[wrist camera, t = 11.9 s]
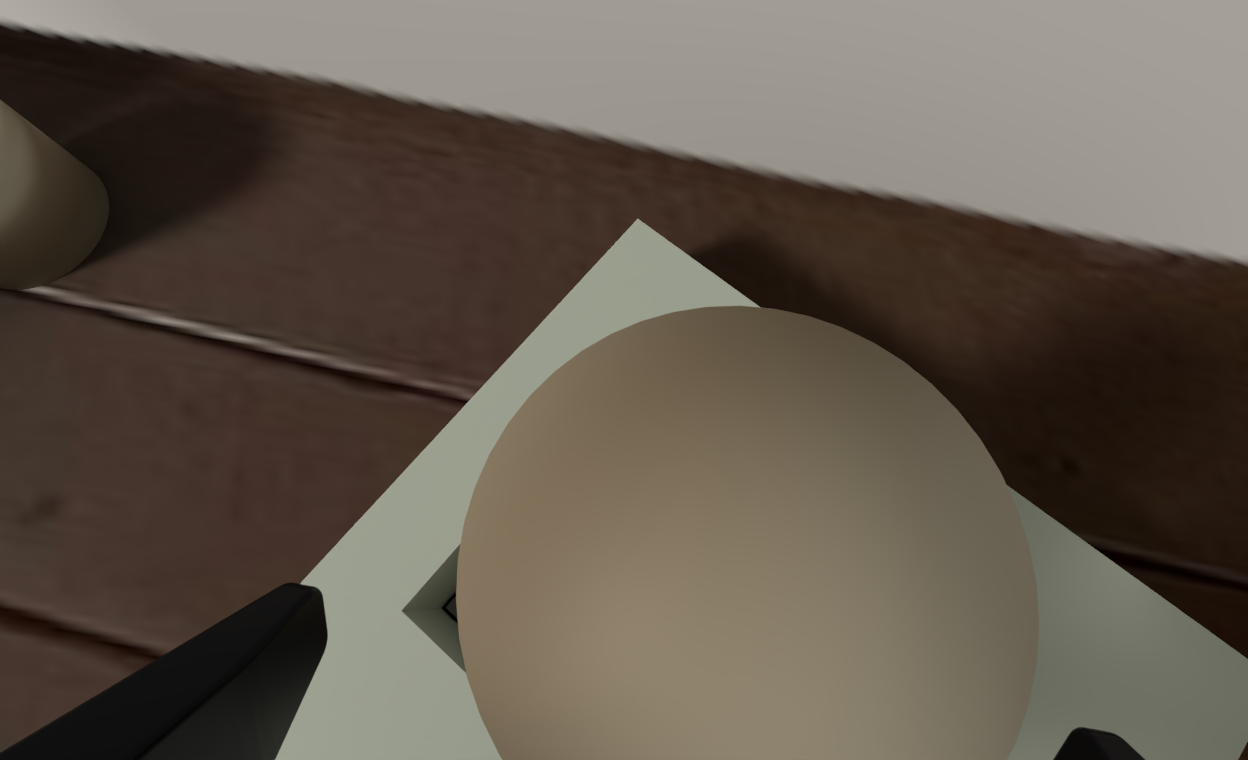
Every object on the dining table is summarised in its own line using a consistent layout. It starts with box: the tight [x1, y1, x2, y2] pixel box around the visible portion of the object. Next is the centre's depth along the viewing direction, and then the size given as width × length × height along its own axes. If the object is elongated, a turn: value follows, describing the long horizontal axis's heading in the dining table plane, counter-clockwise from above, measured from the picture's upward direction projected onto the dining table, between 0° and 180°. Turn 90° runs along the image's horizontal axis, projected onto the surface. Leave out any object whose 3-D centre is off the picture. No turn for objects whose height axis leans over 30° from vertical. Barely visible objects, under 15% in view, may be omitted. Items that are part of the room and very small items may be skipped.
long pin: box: [456, 306, 1039, 760], centre depth 11 cm, size 4×4×12 cm
